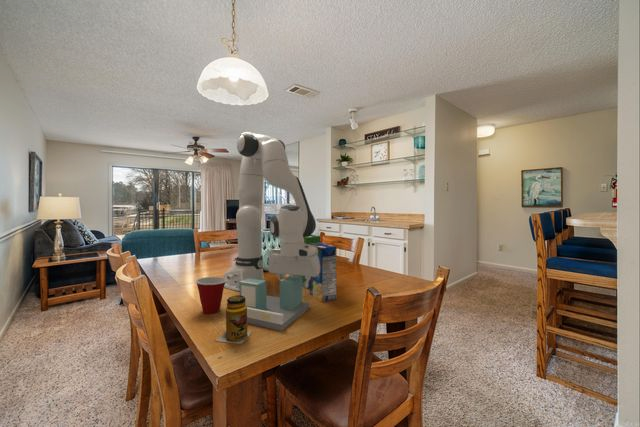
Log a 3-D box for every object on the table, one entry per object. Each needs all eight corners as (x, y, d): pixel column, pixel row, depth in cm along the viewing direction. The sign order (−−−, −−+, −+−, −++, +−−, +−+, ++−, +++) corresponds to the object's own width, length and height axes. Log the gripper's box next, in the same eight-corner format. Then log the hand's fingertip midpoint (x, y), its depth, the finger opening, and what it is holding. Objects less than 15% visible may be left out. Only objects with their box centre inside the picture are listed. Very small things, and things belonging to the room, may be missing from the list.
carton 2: (290, 300, 105) (290, 274, 104) (302, 302, 102) (302, 276, 102) (279, 308, 97) (279, 280, 97) (292, 310, 95) (292, 282, 95)
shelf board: (231, 319, 92) (231, 305, 92) (265, 300, 110) (265, 288, 110) (281, 331, 84) (281, 315, 84) (309, 307, 102) (309, 294, 102)
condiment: (242, 344, 77) (241, 302, 76) (214, 341, 78) (214, 301, 77) (252, 331, 84) (252, 294, 83) (227, 329, 85) (226, 292, 85)
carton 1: (239, 309, 96) (238, 281, 95) (248, 304, 100) (248, 277, 100) (257, 313, 92) (257, 284, 92) (266, 308, 97) (266, 280, 97)
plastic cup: (232, 310, 100) (232, 278, 99) (203, 319, 92) (203, 285, 91) (219, 302, 107) (218, 273, 107) (191, 311, 100) (190, 279, 99)
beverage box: (322, 302, 108) (322, 248, 107) (309, 294, 118) (309, 244, 117) (336, 299, 111) (336, 246, 110) (323, 291, 121) (323, 243, 120)
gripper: (263, 250, 100) (265, 286, 101) (314, 252, 92) (315, 291, 93) (273, 246, 106) (274, 281, 106) (320, 248, 98) (322, 285, 99)
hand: (294, 286), depth 100 cm, fingers open, 8 cm apart
